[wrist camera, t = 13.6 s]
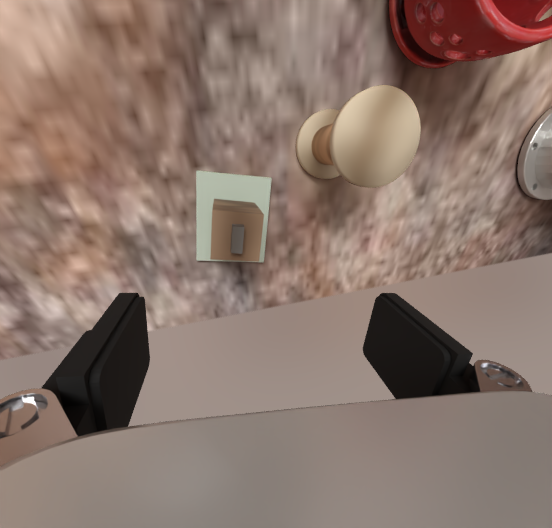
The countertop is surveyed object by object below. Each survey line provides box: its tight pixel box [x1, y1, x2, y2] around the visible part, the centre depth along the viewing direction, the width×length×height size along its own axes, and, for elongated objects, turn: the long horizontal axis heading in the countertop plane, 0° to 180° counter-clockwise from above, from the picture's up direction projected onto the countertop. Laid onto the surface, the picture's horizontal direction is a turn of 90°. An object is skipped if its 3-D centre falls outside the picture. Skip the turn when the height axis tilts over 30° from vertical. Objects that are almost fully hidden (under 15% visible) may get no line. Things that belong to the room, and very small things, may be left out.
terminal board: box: [196, 171, 272, 262], centre depth 31 cm, size 8×10×1 cm
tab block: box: [210, 199, 264, 262], centre depth 27 cm, size 4×4×8 cm
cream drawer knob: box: [296, 85, 421, 188], centre depth 25 cm, size 7×7×11 cm
